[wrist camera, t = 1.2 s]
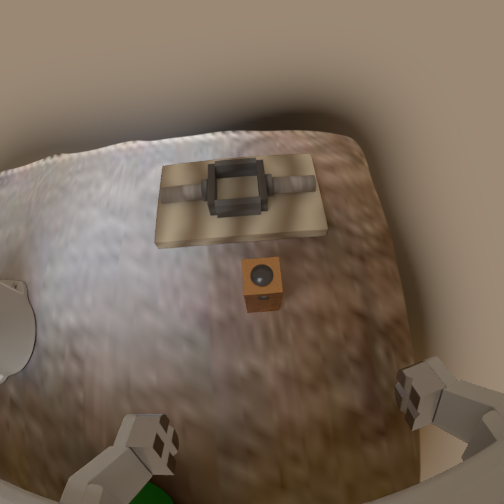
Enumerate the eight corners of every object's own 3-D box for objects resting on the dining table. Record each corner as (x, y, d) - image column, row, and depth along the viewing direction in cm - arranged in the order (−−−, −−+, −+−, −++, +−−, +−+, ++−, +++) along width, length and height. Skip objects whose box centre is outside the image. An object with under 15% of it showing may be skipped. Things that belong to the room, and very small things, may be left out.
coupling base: (158, 248, 42) (147, 232, 38) (165, 173, 48) (157, 153, 44) (325, 235, 42) (332, 217, 38) (308, 161, 48) (312, 140, 44)
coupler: (247, 313, 38) (244, 295, 31) (245, 282, 40) (241, 258, 32) (278, 311, 38) (283, 292, 31) (275, 280, 40) (278, 255, 32)
